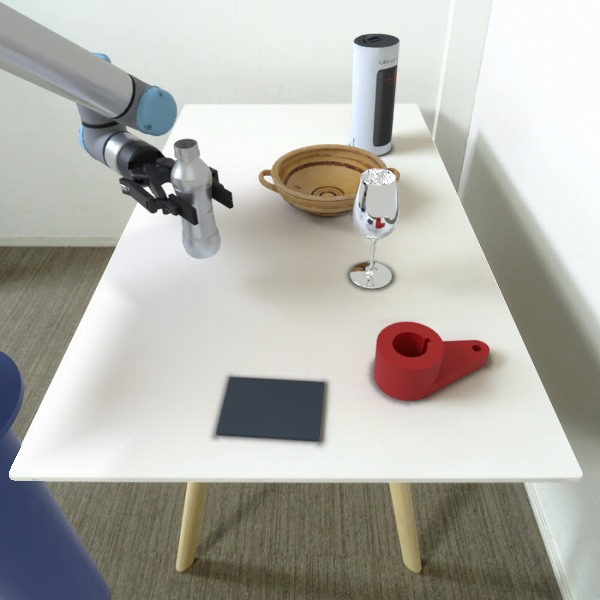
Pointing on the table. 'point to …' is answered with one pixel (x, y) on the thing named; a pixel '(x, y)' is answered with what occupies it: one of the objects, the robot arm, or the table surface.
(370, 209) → the wineglass
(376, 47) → the speaker
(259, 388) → the mat
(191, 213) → the robot arm
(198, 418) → the table surface
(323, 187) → the ceramic bowl
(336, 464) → the table surface
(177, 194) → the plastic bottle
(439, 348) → the lever
